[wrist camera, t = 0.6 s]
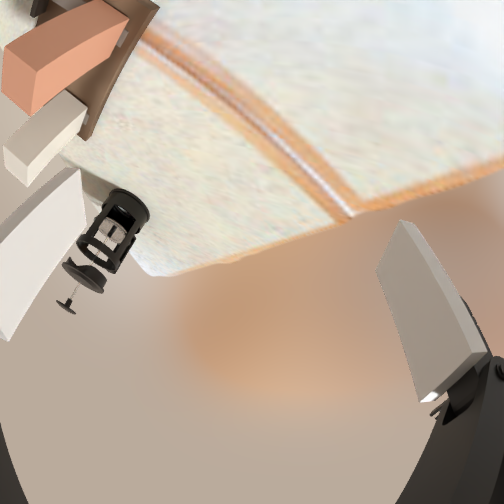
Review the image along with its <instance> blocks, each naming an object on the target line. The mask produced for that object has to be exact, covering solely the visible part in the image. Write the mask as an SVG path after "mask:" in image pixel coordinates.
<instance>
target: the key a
mask: <svg viewBox="0 0 504 504" xmlns="http://www.w3.org/2000/svg"><path fill="white" fill-rule="evenodd" d="M87 109H88V108H87V107H86V106H85V105H84V104H82V103H81V102H80V101H79V100H77V99H76V98H75V97H74V96H72V95H71V94H70V93H69V92H67V91H66V90H65V89H64V90H63V91H62V92H60V93H59V94H58V95H57V96H55V97H54V98H53V99H52V100H51V101H49V102H48V103H47V104H46V105H45V106H43V107H42V108H41V109H40V110H39V111H38V112H36V113H35V114H34V115H33V116H32V117H31V118H30V119H29V120H28V121H26V122H25V123H24V124H23V125H22V126H21V127H20V128H19V129H18V130H17V131H16V132H15V133H14V134H13V135H12V136H11V137H10V138H9V139H8V140H7V141H6V142H5V143H4V144H3V152H4V163H5V168H6V169H7V170H9V171H10V172H11V173H12V174H13V175H14V176H15V177H16V178H17V179H19V180H20V181H21V182H22V183H23V184H24V185H25V186H27V187H28V186H29V185H30V184H31V183H32V181H33V180H34V179H35V178H36V177H37V175H38V174H39V173H40V172H41V171H42V170H43V169H44V168H45V166H46V165H47V164H48V163H49V162H50V161H51V160H52V159H53V158H54V157H55V155H56V154H57V153H58V152H59V151H60V150H61V149H62V148H63V147H64V146H65V145H66V144H67V143H68V142H69V141H70V140H71V139H72V138H73V137H74V136H75V135H76V134H77V133H78V132H79V131H80V128H81V125H82V122H83V119H84V117H85V114H86V111H87Z"/></svg>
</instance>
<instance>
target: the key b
mask: <svg viewBox="0 0 504 504" xmlns="http://www.w3.org/2000/svg"><path fill="white" fill-rule="evenodd" d="M128 21H129V18H128V17H126V16H125V15H123V14H122V13H120V12H119V11H117V10H116V9H114V8H113V7H111V6H110V5H108V4H107V3H105V2H104V1H102V0H93V1H90V2H88V3H86V4H83V5H81V6H79V7H76V8H74V9H72V10H70V11H67V12H65V13H63V14H61V15H59V16H57V17H55V18H53V19H51V20H49V21H47V22H45V23H43V24H41V25H39V26H38V27H36V28H34V29H32V30H31V31H29V32H27V33H25V34H24V35H22V36H20V37H19V38H17V39H15V40H14V41H12V42H11V43H9V44H8V45H6V46H5V48H4V58H3V71H2V90H1V91H2V93H4V94H5V95H6V96H7V97H8V98H9V99H10V100H12V101H13V102H14V103H15V104H16V105H17V106H18V107H20V108H21V109H22V110H23V111H24V112H25V113H27V114H28V115H29V116H30V117H31V116H32V115H33V114H34V113H35V112H36V111H38V110H39V109H40V108H41V107H42V106H43V105H45V104H46V103H47V102H48V101H49V100H51V99H52V98H53V97H54V96H55V95H57V94H58V93H59V92H61V91H62V90H63V89H64V88H66V87H67V86H68V85H70V84H71V83H72V82H74V81H75V80H76V79H78V78H79V77H81V76H82V75H83V74H85V73H86V72H88V71H89V70H91V69H92V68H94V67H95V66H97V65H98V64H100V63H101V62H103V61H104V60H106V59H107V58H109V57H110V55H111V53H112V51H113V49H114V47H115V45H116V43H117V41H118V39H119V37H120V35H121V33H122V32H123V30H124V28H125V26H126V24H127V23H128Z"/></svg>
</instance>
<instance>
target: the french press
mask: <svg viewBox="0 0 504 504" xmlns="http://www.w3.org/2000/svg"><path fill="white" fill-rule="evenodd" d="M117 206H119V207H121V208H123V209H124V210H126V211H127V212H128V213H129V214H131V215H132V216H133V218H131V217H129V216H127V215H126V214H124V213H123V212H122V211H121V210H120V209H119V208H118V207H117ZM149 218H150V214H149V211H148V209H147V207H146V206H145V204H144V203H143V202H142V201H141V200H140V199H139V198H138V197H136V196H135V195H133V194H132V193H130V192H128V191H126V190H122V189H114V190H112V191H111V192H110V194H109V197H108V198H107V199H106V201H105V202H104V203H103V205H102V211H101V213H100V214H99V215H98V216H97V217H95V218H94V222H93V224H92V225H91V227H90V228H89V230H88V231H87V233H86V234H83V235H81V236H80V237H79V238H78V240H77V241H76V244H77V246H78V248H79V249H80V251H81V252H82V253H83V254H84V255H85V256H86V257H87V258H89V259H90V260H91V263H90V265H83V266H77V265H76V264H75V263H74V262H73V261H72V259H71V257H69V259H68V260H67V261H66V262H63V263H62V267H63V268H64V269H65V270H66V272H67V273H68V274H69V275H71V276H72V277H73V278H74V279H75V280H77V281H78V282H79V283H78V285H77V287H76V288H75V290H74V292H73V294H72V295H71V297H70V299H69V298H68V300H67V301H66V303H65V304H63V303H61V302H59V301H58V300H56V302H57V303H58V304H59V305H60V306H61V307H62V308H63V309H65V310H66V311H68V312H70V313H72V314H76V313H75V312H74V311H73V310H72V309H70V308H69V307H70V305H71V303H72V298H73V296H74V294H75V293H76V291H77V289H78V287H79V286H80V284H82V285H84V286H85V287H87V288H89V289H91V290H93V291H95V292H97V293H101V294H102V293H103V292H104V289H103V287H104V285H105V283H106V281H107V279H106V278H105V276H104V275H103V274H102V273H101V272H100V271H99V270H97V269H96V268H95V267H93V266H91V265H92V264H93V262H94V263H95V264H97V265H99V266H101V267H102V268H105V269H106V270H107V271H108V272H110V273H113V274H115V273H116V272H117V270H118V268H119V267H120V264H121V263H122V261H123V260H124V258H125V256H126V255H127V253H128V252H129V250H130V248H131V247H132V245H133V243H134V242H135V240H136V237H135V234H138V233H139V232H140V230H141V229H142V227H143V226H144V224H145V223H146V222H148V220H149ZM98 230H99V231H100V232H101V233H102V234H103V235H104V236H106V237H107V238H106V239H105V241H104V242H103V243H102V242H101V241H99V240H97V239H96V238H94V236H95V234H96V233H97V231H98ZM108 239H110V240H111V241H113V242H115V243H117V246H116V247H115V249H114V250H113V251H112V250H111V249H110V248H109V247H107V246H106V245H105V243H106V241H107V240H108ZM88 244H90V245H92V246H94V247H96V248H97V249H99V250H98V252H97V254H96V255H94V254H93V253H92V252H91V251H89V250H88V248H87V246H88ZM100 251H101V252H103V253H104V254H105V255H107V256H108V260H107V262H105V261H104V260H102V259H100V258H98V257H97V256H98V254H99V252H100Z"/></svg>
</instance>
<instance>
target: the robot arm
mask: <svg viewBox="0 0 504 504" xmlns="http://www.w3.org/2000/svg"><path fill="white" fill-rule="evenodd" d="M86 226H87V222H86V216H85V209H84V200H83V192H82V182H81V171H80V168H65V169H63V170H62V171H61V172H60V173H58V174H57V175H56V176H54V177H53V178H52V179H51V180H50V181H48V182H47V183H46V184H45V185H44V186H42V187H41V188H40V189H39V190H38V191H36V192H35V193H34V194H33V195H32V196H31V197H29V198H28V199H27V200H26V201H25V202H24V203H23V204H22V205H21V206H20V207H18V208H17V210H15V211H14V212H13V213H12V214H11V215H10V216H9V217H8V218H7V219H6V220H5V221H4V222H3V223H2V224H1V225H0V338H1V339H3V340H5V341H8V342H9V340H10V338H11V337H12V335H13V333H14V331H15V330H16V328H17V326H18V325H19V323H20V321H21V319H22V318H23V316H24V314H25V313H26V311H27V309H28V308H29V306H30V305H31V303H32V301H33V300H34V298H35V297H36V295H37V294H38V292H39V291H40V289H41V288H42V286H43V284H44V283H45V281H46V280H47V279H48V277H49V276H50V274H51V273H52V271H53V270H54V269H55V267H56V266H57V264H58V263H59V261H60V260H61V259H62V257H63V256H64V255H65V253H66V252H67V251H68V249H69V248H70V247H71V245H72V244H73V243H74V241H75V240H76V239H77V237H78V236H79V235H80V233H81V232H82V231H83V229H84V228H85V227H86ZM375 271H376V273H377V276H378V278H379V281H380V284H381V286H382V289H383V292H384V294H385V297H386V299H387V302H388V305H389V307H390V310H391V313H392V316H393V319H394V322H395V325H396V327H397V330H398V333H399V336H400V339H401V342H402V345H403V349H404V352H405V355H406V357H407V361H408V365H409V368H410V371H411V375H412V378H413V382H414V385H415V389H416V392H417V396H418V400H419V402H427V401H435V400H436V399H438V398H439V397H440V396H441V395H443V394H444V393H445V392H446V391H447V393H448V396H449V398H448V399H447V400H446V401H444V402H443V403H442V404H441V405H439V406H438V407H437V408H436V409H434V410H433V411H432V412H431V414H430V416H433V415H434V414H436V413H437V412H438V411H440V413H439V415H438V416H437V417H436V418H435V419H436V420H437V421H436V423H435V426H434V428H433V431H432V433H431V435H430V438H429V440H428V442H427V445H426V447H425V449H424V451H423V453H422V455H421V457H420V459H419V461H418V463H417V465H416V467H415V470H414V472H413V473H412V475H411V477H410V479H409V481H408V483H407V485H406V486H405V488H404V490H403V492H402V493H401V495H400V497H399V499H398V500H397V502H396V503H395V504H504V359H503V358H501V357H500V356H494V357H493V355H492V353H491V351H490V349H489V347H488V344H487V342H486V340H485V338H484V336H483V334H482V332H481V330H480V328H479V326H478V325H477V322H476V320H475V318H474V317H473V316H472V312H471V310H470V309H469V307H468V305H467V303H466V302H465V301H464V300H463V299H462V297H461V296H460V295H459V294H458V292H457V290H456V288H455V287H454V285H453V283H452V282H451V280H450V278H449V277H448V275H447V273H446V271H445V270H444V268H443V266H442V265H441V263H440V262H439V260H438V259H437V257H436V255H435V254H434V252H433V251H432V249H431V248H430V246H429V244H428V243H427V242H426V240H425V238H424V237H423V236H422V234H421V233H420V232H419V230H418V228H417V227H416V225H415V224H414V223H411V222H407V221H403V220H399V222H398V224H397V227H396V229H395V231H394V233H393V235H392V238H391V239H390V242H389V244H388V246H387V248H386V250H385V252H384V254H383V256H382V258H381V260H380V262H379V264H378V266H377V268H376V270H375ZM0 504H28V501H27V499H26V497H25V495H24V492H23V490H22V488H21V485H20V483H19V480H18V477H17V475H16V472H15V469H14V467H13V464H12V461H11V458H10V455H9V452H8V449H7V446H6V442H5V439H4V435H3V432H2V428H1V424H0Z"/></svg>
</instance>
